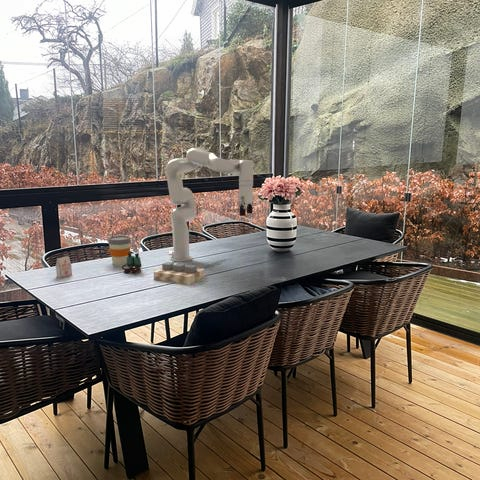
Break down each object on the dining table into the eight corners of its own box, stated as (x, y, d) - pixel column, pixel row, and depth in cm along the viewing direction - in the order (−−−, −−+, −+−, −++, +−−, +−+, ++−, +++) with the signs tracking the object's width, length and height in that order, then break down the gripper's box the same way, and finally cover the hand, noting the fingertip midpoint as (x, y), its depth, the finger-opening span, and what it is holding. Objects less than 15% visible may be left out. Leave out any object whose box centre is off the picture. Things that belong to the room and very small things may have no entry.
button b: (173, 272, 251) (173, 265, 250) (178, 270, 254) (178, 263, 254) (180, 273, 249) (180, 266, 248) (185, 271, 253) (185, 264, 252)
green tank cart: (118, 256, 257) (128, 251, 266) (120, 275, 260) (130, 269, 269) (133, 258, 254) (142, 252, 263) (135, 276, 257) (144, 270, 266)
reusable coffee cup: (112, 266, 274) (110, 240, 271) (107, 261, 285) (105, 237, 282) (134, 264, 280) (132, 238, 277) (128, 259, 291) (127, 235, 288)
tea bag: (56, 276, 255) (55, 258, 253) (68, 273, 260) (66, 255, 258) (60, 277, 253) (59, 259, 251) (72, 275, 258) (70, 256, 256)
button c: (185, 274, 248) (185, 266, 247) (189, 272, 252) (189, 264, 251) (192, 275, 246) (192, 267, 245) (197, 273, 250) (196, 265, 249)
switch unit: (154, 279, 249) (153, 271, 249) (171, 271, 264) (170, 264, 263) (189, 284, 241) (189, 276, 240) (204, 276, 255) (204, 268, 254)
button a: (162, 271, 253) (162, 263, 253) (167, 269, 257) (166, 262, 257) (169, 272, 252) (169, 264, 251) (174, 270, 256) (173, 262, 255)
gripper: (246, 181, 271) (246, 211, 274) (233, 184, 255) (233, 216, 259) (258, 182, 268) (258, 212, 271) (246, 184, 252) (246, 217, 256)
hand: (246, 214), depth 265 cm, fingers open, 9 cm apart
